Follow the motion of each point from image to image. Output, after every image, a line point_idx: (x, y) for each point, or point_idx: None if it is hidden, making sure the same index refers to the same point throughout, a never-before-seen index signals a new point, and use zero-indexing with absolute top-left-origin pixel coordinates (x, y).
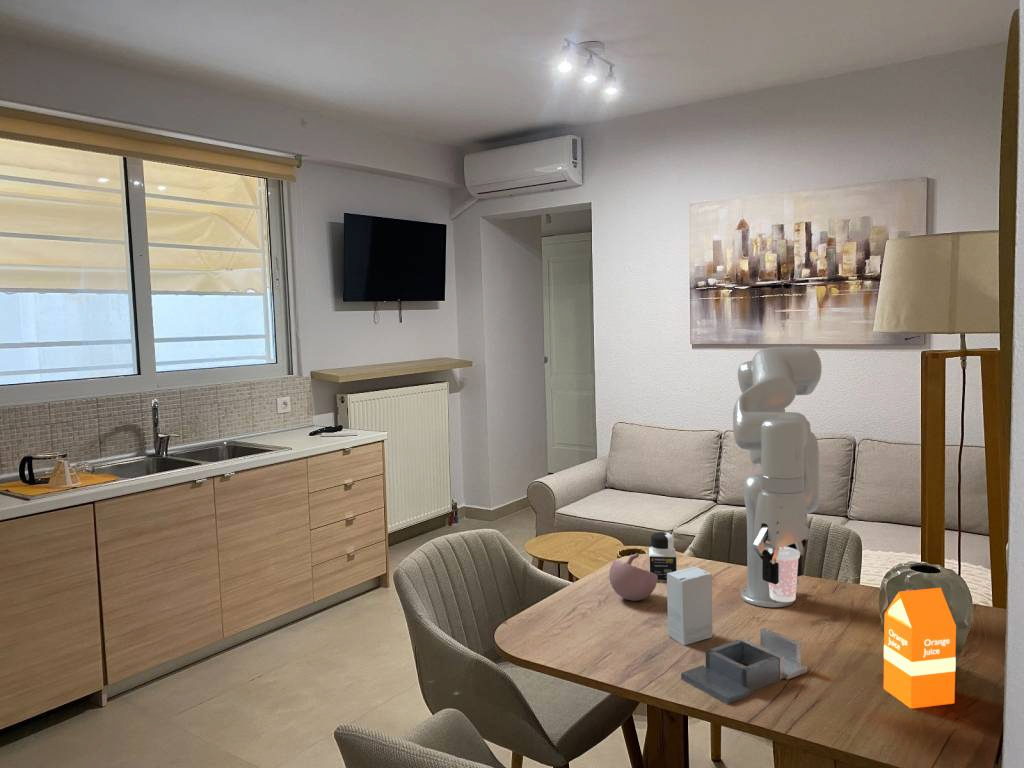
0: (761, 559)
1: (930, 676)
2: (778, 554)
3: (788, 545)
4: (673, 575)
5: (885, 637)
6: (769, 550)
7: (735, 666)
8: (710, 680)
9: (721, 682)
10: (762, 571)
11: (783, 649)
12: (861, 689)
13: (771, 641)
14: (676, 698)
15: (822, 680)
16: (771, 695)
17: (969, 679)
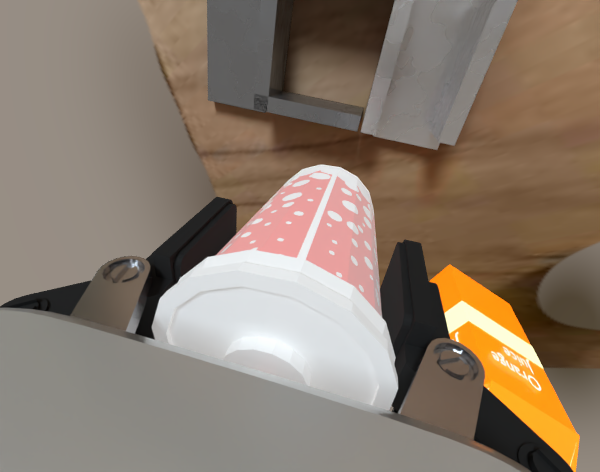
0: (116, 266)
1: None
2: None
3: (406, 395)
4: None
5: (469, 336)
6: (220, 294)
7: (257, 73)
8: (233, 22)
9: (245, 48)
10: (198, 213)
11: (450, 93)
12: (424, 240)
13: (470, 47)
14: (151, 3)
15: (419, 181)
16: (298, 139)
17: (566, 345)
